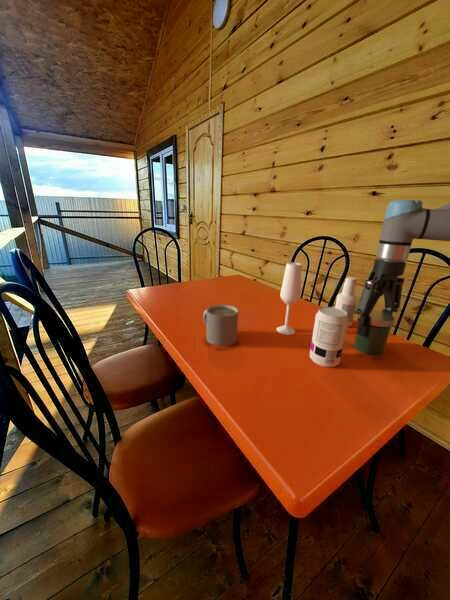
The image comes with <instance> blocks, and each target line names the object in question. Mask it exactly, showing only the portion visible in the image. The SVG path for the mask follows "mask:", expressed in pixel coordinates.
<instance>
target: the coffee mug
mask: <svg viewBox="0 0 450 600" xmlns="http://www.w3.org/2000/svg"><path fill="white" fill-rule="evenodd" d="M202 316H203V323H204V324H205V325H206V329H205V330H206V334H205V335H206V337H205V339H206V341H207V342H208V343H209V344H211V345H214V346H217V347H227V346H231V345H234V344H235V343H236V342H237V341H238V324H239V309H238V308H237V307H235V306H233V305H229V304H214V305H210V306H209V307H207V308H206V309H205V310H204V311H203V315H202Z"/></svg>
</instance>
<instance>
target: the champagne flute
mask: <svg viewBox="0 0 450 600" xmlns="http://www.w3.org/2000/svg"><path fill="white" fill-rule="evenodd" d="M302 265H303V264H302V263H300V262H297V261H296V262H295V261H294V262H293V261H288V262H286V265H285V269H284V273H283V274H284V275H283V279H282V282H281V289H280V293H279V297H280V299H281V301H282V302H283V303H284V304H285V305H286V312H285V321H284V325H280V326H278V327H276V329H275V330H276V332H278V333H279V334H281V335H286V336H290V335H291V336H292V335H294V334H296V330H295V329H294V328H292V327H291V326H290V325H289V324H290V323H289V322H290V314H291V308H292V306H293V305H294V304H296V303H297V302H299V300H301V295H302V294H301V293H302V267H303V266H302Z"/></svg>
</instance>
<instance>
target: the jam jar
mask: <svg viewBox="0 0 450 600" xmlns="http://www.w3.org/2000/svg"><path fill="white" fill-rule="evenodd" d="M358 325H359V323H358ZM358 325H357V326H358ZM391 327H392V326H390V327H378V326H373V325H369V328H368V332H367V336H366V337H363V336H361V335H359V334H357V332H356V333H355V337H354V342H353V348H354V349H356V351H358V352H361V353H363V354H364V355H368V356H374V357H375V356H376V357H378V356H382V355H384V353H385V350H386V347H387V342H388V339H389V336H390V332H391ZM357 330H358V327H357V328H356V331H357Z"/></svg>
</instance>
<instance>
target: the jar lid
mask: <svg viewBox="0 0 450 600" xmlns="http://www.w3.org/2000/svg"><path fill="white" fill-rule="evenodd" d="M369 316H371V319H370V323H369V325H373V326H378V327H390V326H391V327H392V326H394V322H395V317H394V316H393V315H392V316H391V315H390V314H387V313H385V312H382V311H381V310H376V309H373V310H372V312H371V313H370V315H369ZM359 319H360V314H358V320H359Z"/></svg>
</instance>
